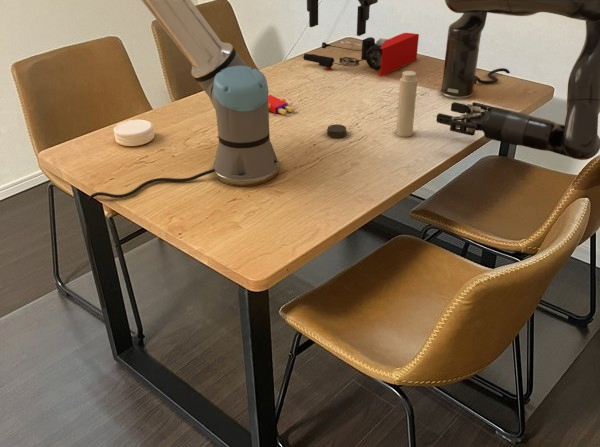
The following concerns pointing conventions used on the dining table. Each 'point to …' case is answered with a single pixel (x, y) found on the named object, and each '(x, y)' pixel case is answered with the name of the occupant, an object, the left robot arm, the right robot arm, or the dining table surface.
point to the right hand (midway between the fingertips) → (444, 111)
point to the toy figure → (278, 105)
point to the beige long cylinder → (406, 104)
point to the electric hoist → (377, 53)
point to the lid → (336, 131)
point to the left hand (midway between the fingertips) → (336, 30)
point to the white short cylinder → (134, 132)
